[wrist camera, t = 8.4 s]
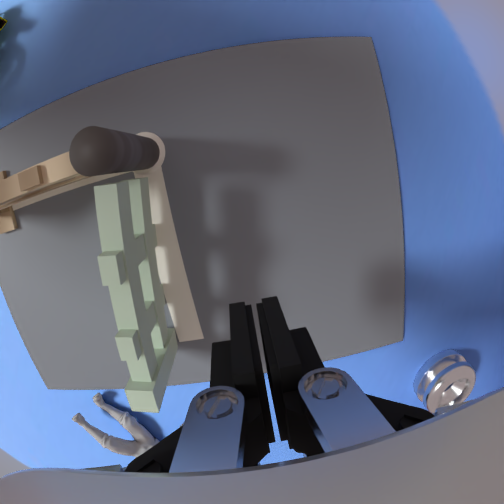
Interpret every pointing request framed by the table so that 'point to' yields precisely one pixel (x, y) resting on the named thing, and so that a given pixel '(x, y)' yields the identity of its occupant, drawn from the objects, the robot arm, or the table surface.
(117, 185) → the fence swing section
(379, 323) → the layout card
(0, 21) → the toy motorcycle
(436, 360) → the grooved metal pulley
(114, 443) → the soldier figure
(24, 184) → the fence fixed section
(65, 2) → the table surface
